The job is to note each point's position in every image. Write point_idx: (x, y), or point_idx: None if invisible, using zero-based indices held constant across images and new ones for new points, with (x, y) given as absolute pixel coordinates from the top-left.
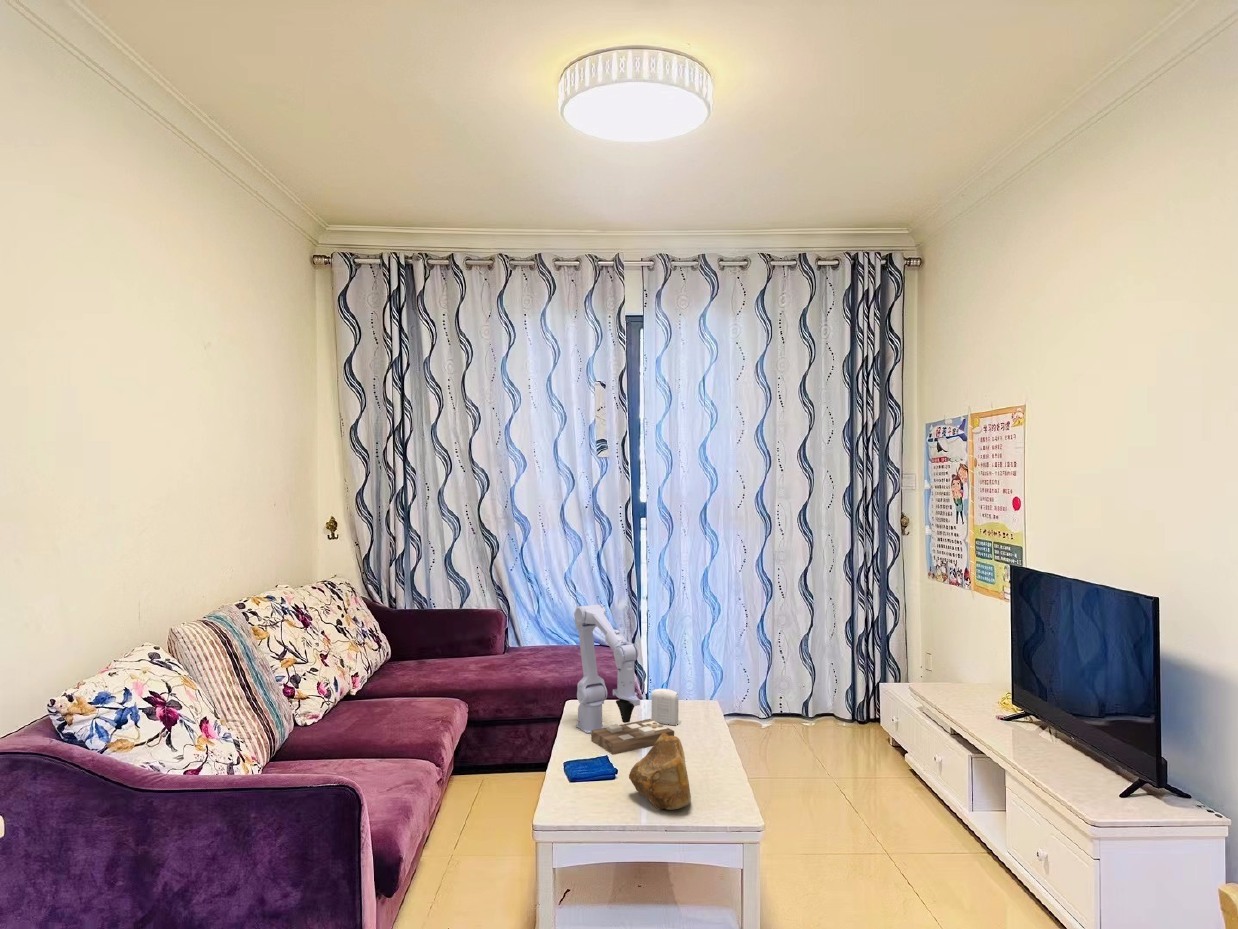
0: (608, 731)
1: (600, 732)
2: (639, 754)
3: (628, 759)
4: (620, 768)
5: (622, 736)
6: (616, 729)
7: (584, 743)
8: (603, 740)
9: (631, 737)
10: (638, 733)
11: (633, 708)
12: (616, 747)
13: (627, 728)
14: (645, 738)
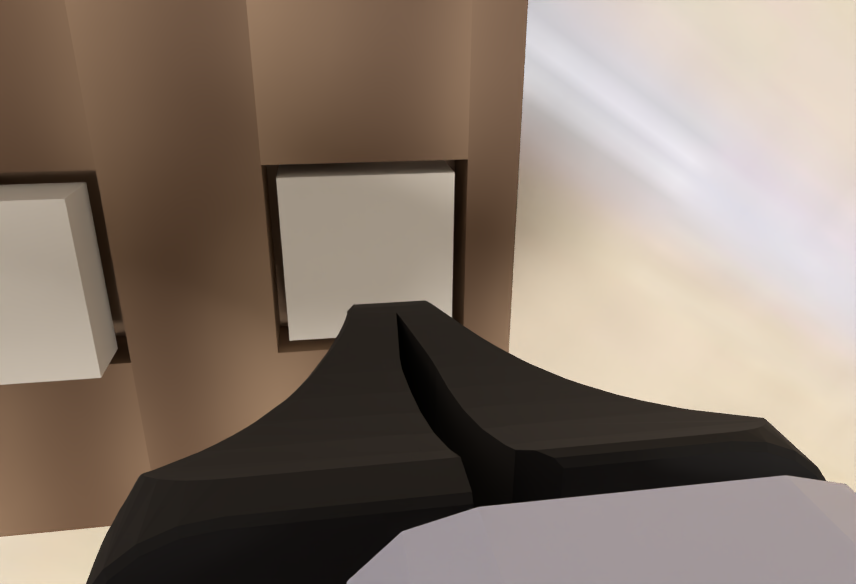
0: None
1: (49, 478)
2: (616, 191)
3: (652, 347)
4: None
5: (330, 296)
6: (91, 296)
7: (33, 538)
8: None
9: (433, 210)
10: (332, 21)
11: (604, 396)
12: None
13: (9, 52)
14: (522, 12)
